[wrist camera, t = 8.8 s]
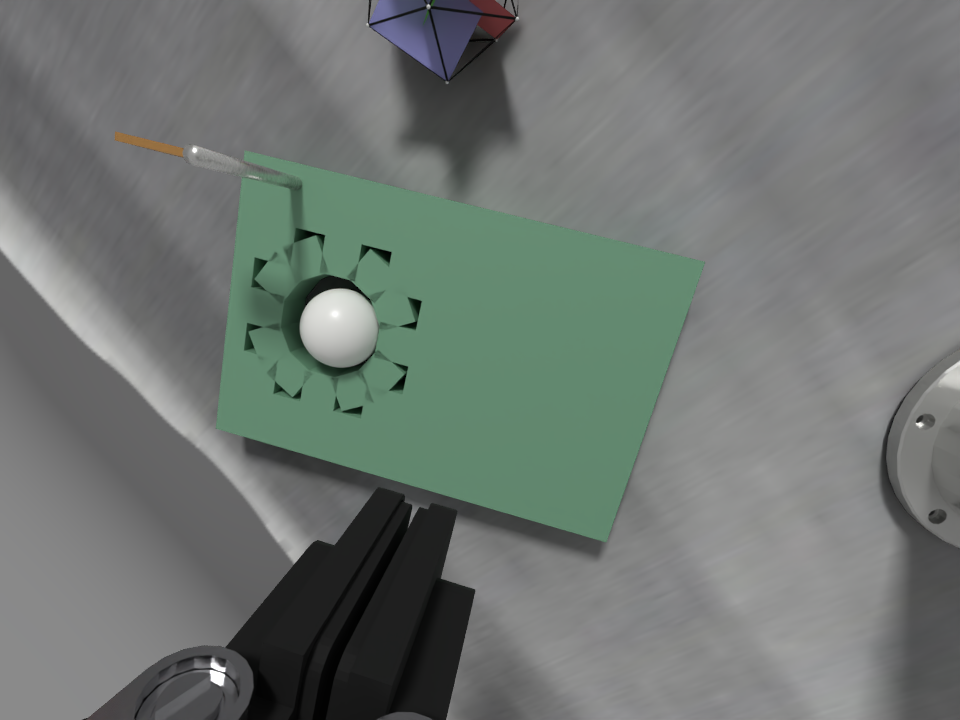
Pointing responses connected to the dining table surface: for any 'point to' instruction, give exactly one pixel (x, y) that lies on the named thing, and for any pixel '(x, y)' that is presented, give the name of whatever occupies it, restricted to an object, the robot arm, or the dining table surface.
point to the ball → (339, 328)
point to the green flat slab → (452, 345)
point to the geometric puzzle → (439, 28)
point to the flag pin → (218, 162)
